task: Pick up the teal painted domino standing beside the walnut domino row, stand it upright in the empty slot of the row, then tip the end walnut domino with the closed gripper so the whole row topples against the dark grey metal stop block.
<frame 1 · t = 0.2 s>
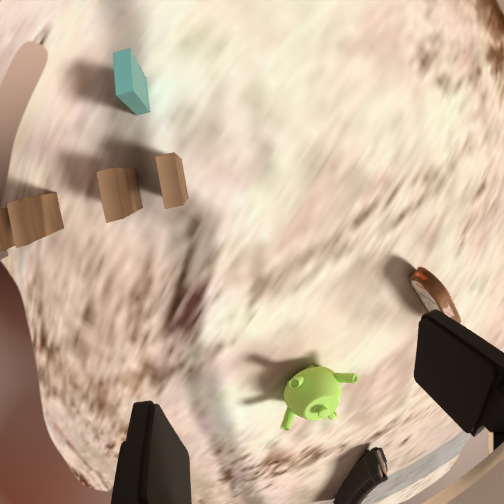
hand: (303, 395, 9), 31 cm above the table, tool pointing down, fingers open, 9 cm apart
domino 2: (132, 190, 35), on the table
teapot: (304, 378, 47), on the table
tin: (421, 292, 47), on the table
domino 4: (54, 211, 33), on the table
domino 1: (177, 179, 35), on the table
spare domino: (141, 96, 32), on the table
domino 5: (24, 222, 33), on the table
magazine: (352, 473, 60), on the table
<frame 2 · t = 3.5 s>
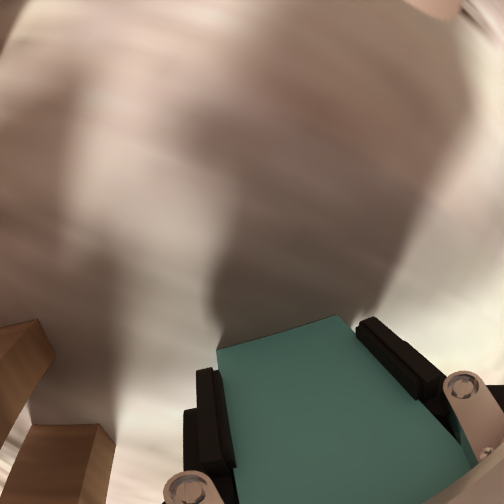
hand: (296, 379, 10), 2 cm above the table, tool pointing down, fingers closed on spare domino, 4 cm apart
domino 2: (10, 344, 9), on the table
domino 1: (71, 436, 11), on the table
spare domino: (282, 351, 11), on the table, touching gripper
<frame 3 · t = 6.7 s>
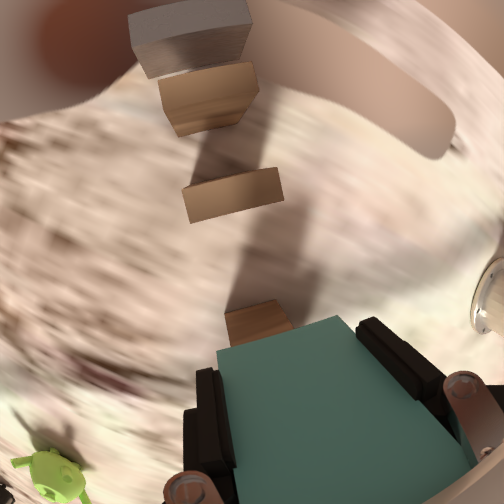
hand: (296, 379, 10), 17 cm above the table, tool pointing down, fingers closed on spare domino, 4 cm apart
domino 2: (252, 314, 28), on the table
teapot: (62, 459, 30), on the table
domino 4: (221, 188, 24), on the table
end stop: (190, 53, 21), on the table
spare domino: (282, 351, 11), point 15 cm above the table, touching gripper
domino 5: (205, 120, 23), on the table
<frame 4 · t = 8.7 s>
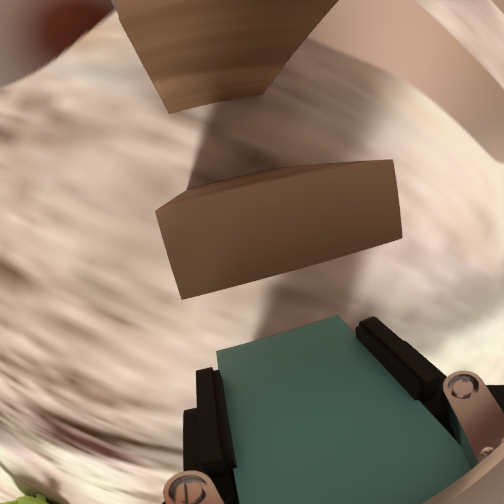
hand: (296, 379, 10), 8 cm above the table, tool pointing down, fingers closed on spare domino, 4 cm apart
teapot: (51, 503, 21), on the table
domino 4: (237, 195, 15), on the table
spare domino: (282, 351, 11), point 6 cm above the table, touching gripper
domino 5: (212, 87, 14), on the table
when the fingers open (3 cm above the table, at t = 10.3 s): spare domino stays where it is, on the table.
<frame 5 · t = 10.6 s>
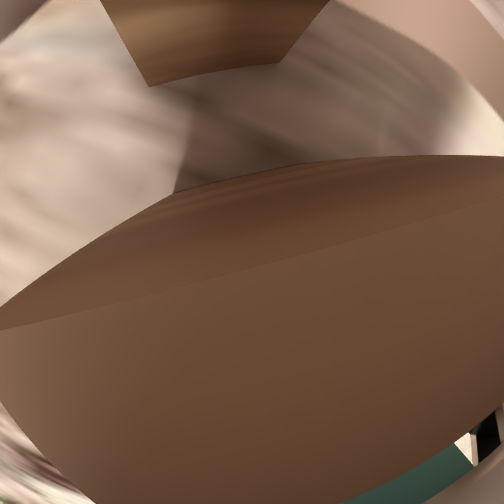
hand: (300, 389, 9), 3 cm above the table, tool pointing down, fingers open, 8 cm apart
domino 4: (245, 200, 11), on the table
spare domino: (277, 339, 12), on the table
domino 5: (210, 51, 9), on the table
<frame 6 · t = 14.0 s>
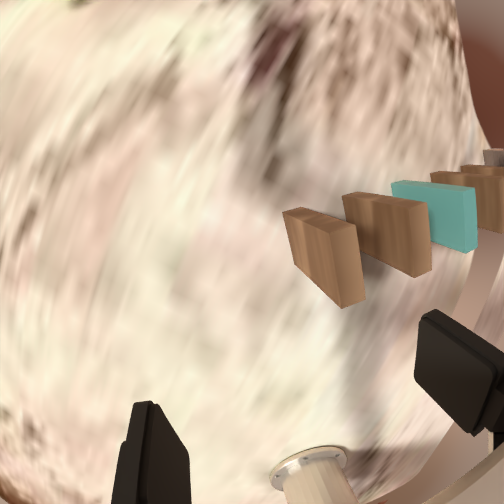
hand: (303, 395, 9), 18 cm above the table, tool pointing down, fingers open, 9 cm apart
domino 2: (354, 218, 27), on the table
domino 4: (438, 193, 28), on the table
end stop: (491, 177, 30), on the table
domino 1: (297, 236, 27), on the table
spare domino: (401, 205, 28), on the table
domino 5: (467, 184, 29), on the table
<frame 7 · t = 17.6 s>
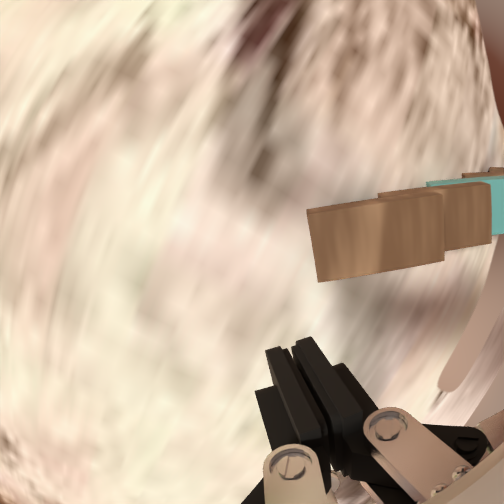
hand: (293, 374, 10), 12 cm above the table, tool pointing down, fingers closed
domino 2: (383, 226, 22), point 1 cm above the table, tilted 66°, touching domino 1, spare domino
domino 4: (465, 199, 23), point 1 cm above the table, tilted 49°, touching domino 5, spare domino
domino 1: (312, 245, 21), point 1 cm above the table, tilted 70°, touching domino 2
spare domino: (431, 211, 22), point 1 cm above the table, tilted 60°, touching domino 2, domino 4
domino 5: (491, 190, 24), on the table, tilted 31°, touching domino 4, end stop
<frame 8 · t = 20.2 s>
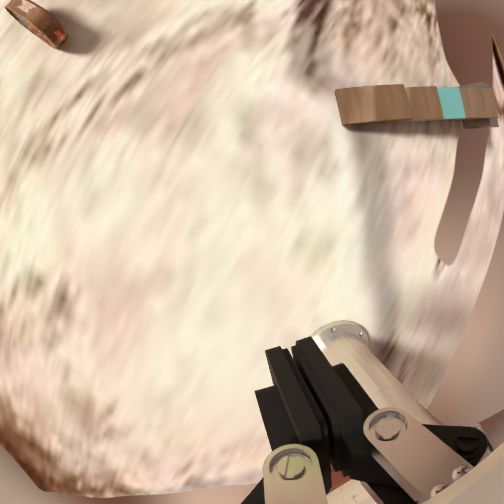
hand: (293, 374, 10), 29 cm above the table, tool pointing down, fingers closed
domino 2: (378, 107, 36), point 1 cm above the table, tilted 64°, touching domino 1, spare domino
tin: (46, 30, 25), on the table
domino 4: (426, 105, 37), point 1 cm above the table, tilted 48°, touching domino 5, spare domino
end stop: (464, 108, 39), on the table
domino 1: (339, 107, 35), point 1 cm above the table, tilted 71°, touching domino 2
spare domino: (405, 106, 37), point 1 cm above the table, tilted 58°, touching domino 2, domino 4
domino 5: (445, 106, 38), on the table, tilted 30°, touching domino 4, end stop
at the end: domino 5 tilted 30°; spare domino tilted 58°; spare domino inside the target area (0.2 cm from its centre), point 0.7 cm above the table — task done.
